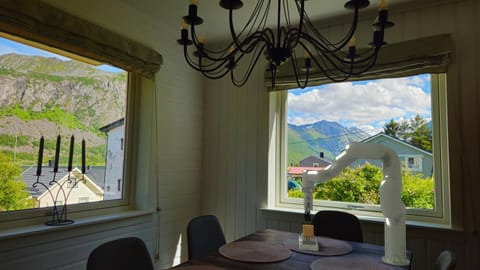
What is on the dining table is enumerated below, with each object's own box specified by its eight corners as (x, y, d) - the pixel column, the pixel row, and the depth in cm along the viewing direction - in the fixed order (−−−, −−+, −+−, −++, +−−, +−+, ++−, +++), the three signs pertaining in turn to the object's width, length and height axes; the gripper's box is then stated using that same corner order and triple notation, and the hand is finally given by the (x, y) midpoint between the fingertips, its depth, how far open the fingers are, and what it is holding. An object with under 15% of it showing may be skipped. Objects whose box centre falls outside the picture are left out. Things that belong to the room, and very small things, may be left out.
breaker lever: (313, 240, 182) (313, 226, 183) (302, 239, 183) (303, 225, 184) (313, 239, 185) (313, 225, 185) (302, 238, 186) (302, 224, 186)
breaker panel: (318, 250, 173) (318, 241, 173) (299, 249, 175) (299, 240, 175) (315, 241, 193) (315, 233, 193) (298, 240, 194) (299, 232, 195)
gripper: (315, 192, 177) (314, 223, 176) (313, 189, 194) (312, 217, 193) (302, 191, 178) (301, 221, 177) (301, 188, 196) (300, 216, 194)
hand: (307, 219), depth 185 cm, fingers open, 9 cm apart
